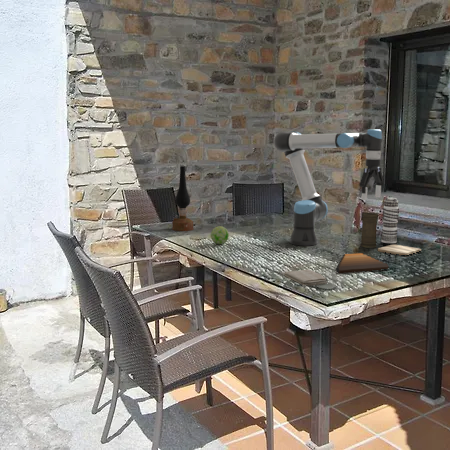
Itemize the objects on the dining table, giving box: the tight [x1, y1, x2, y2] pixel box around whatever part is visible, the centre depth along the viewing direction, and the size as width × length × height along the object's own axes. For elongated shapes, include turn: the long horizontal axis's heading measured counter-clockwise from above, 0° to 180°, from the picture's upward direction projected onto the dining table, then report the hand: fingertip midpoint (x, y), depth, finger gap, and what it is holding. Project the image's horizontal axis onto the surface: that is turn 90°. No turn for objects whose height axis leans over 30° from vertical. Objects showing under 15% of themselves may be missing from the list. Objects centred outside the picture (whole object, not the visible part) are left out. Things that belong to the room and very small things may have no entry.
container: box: [359, 212, 379, 249], centre depth 311 cm, size 9×9×18 cm
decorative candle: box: [380, 197, 400, 244], centre depth 323 cm, size 9×9×25 cm
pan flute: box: [335, 252, 389, 274], centre depth 269 cm, size 25×3×25 cm
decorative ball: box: [210, 225, 230, 245], centre depth 313 cm, size 10×10×10 cm
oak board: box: [377, 243, 422, 256], centre depth 300 cm, size 16×16×2 cm
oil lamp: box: [171, 165, 194, 232], centre depth 355 cm, size 14×15×40 cm
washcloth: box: [284, 268, 328, 287], centre depth 244 cm, size 12×18×3 cm, turn 24°
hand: (371, 198), depth 308 cm, fingers open, 13 cm apart
